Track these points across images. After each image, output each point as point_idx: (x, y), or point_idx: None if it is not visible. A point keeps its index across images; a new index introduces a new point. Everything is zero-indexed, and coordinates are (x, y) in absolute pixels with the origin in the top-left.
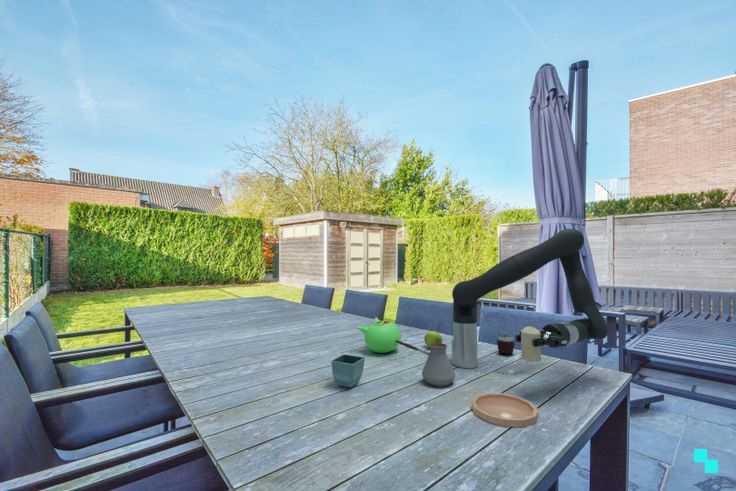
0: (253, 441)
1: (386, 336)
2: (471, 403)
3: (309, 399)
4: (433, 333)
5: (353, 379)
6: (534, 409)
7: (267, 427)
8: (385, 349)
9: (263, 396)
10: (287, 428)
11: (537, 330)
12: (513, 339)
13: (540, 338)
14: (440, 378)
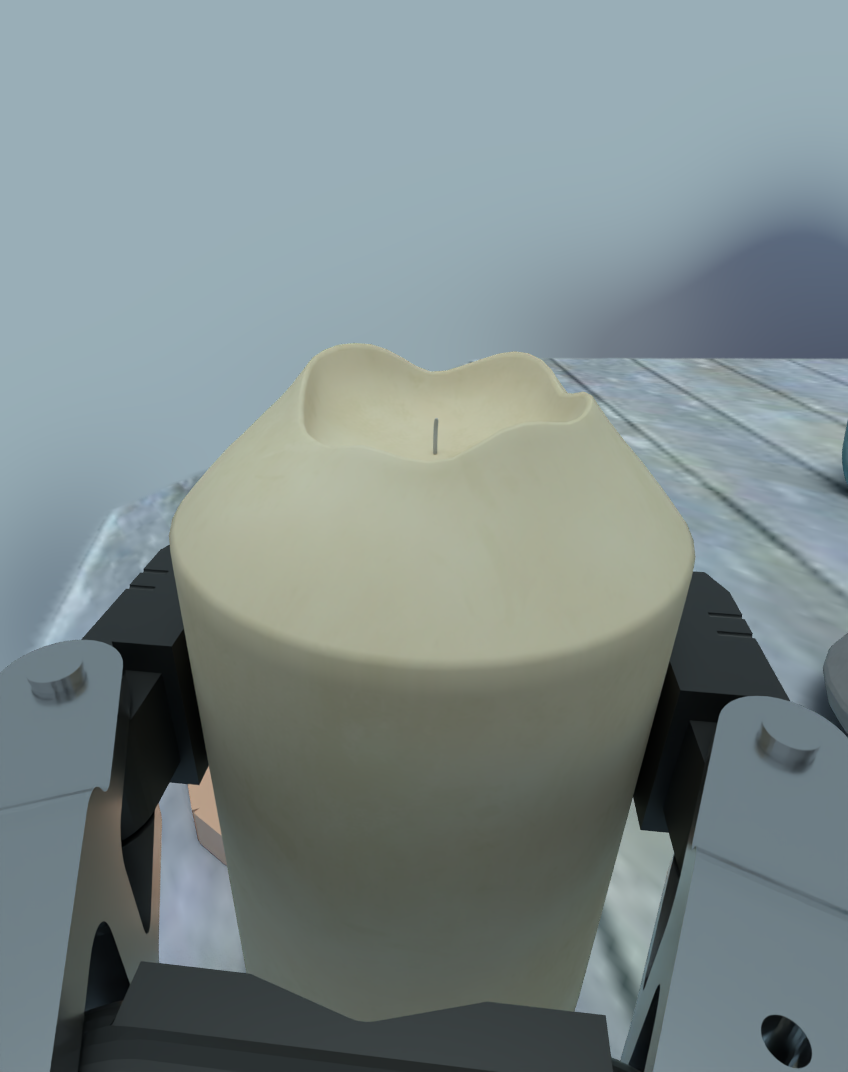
0: (585, 375)
1: None
2: None
3: (768, 434)
4: None
5: (845, 457)
6: (214, 796)
7: (631, 387)
8: None
9: (809, 402)
10: (613, 396)
11: (239, 463)
12: None
13: (164, 606)
14: (832, 651)
